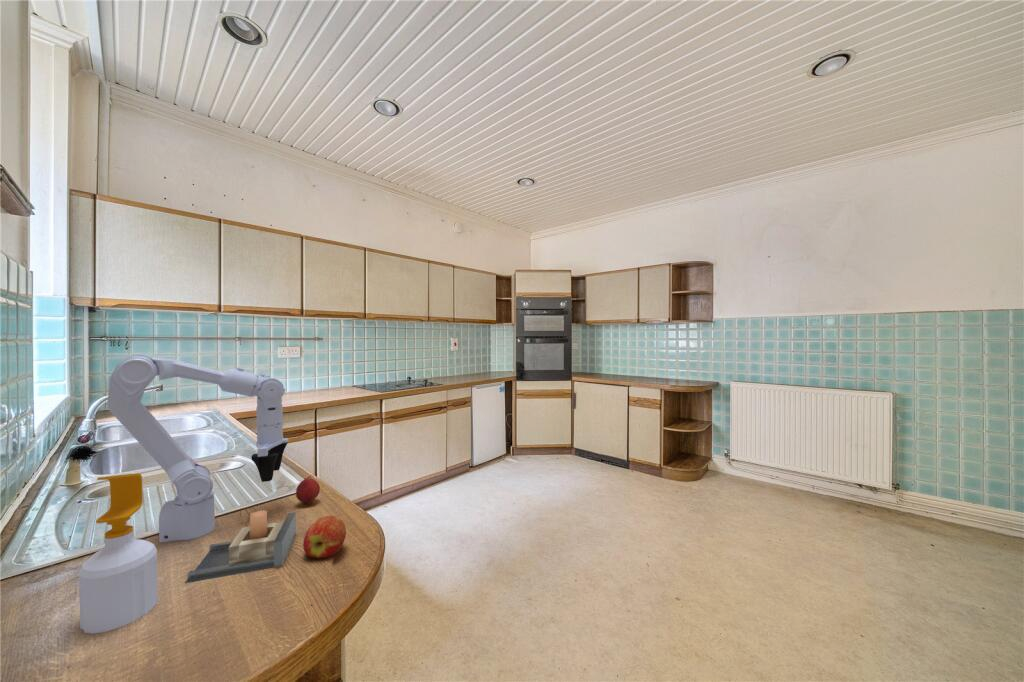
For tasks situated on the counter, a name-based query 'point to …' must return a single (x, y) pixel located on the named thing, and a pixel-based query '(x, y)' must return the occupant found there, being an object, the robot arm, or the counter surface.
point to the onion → (307, 490)
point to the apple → (324, 537)
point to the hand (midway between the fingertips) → (271, 475)
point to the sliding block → (253, 545)
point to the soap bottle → (119, 565)
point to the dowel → (258, 525)
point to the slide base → (219, 562)
